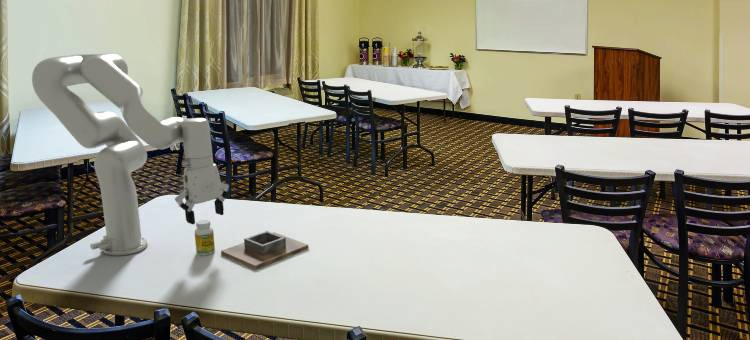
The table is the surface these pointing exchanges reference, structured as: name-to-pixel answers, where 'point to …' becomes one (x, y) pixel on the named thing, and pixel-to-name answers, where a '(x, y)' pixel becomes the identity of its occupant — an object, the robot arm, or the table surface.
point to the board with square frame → (264, 249)
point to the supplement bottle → (204, 238)
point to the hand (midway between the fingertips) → (205, 218)
